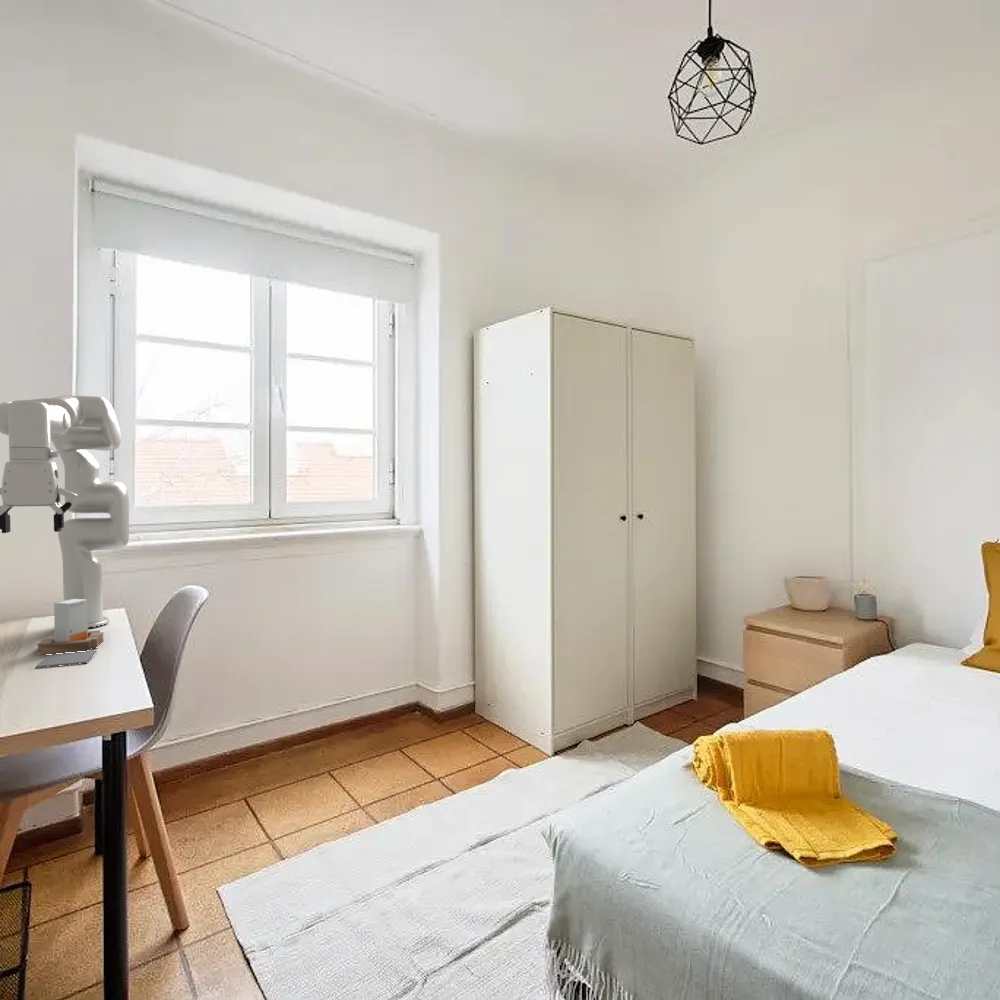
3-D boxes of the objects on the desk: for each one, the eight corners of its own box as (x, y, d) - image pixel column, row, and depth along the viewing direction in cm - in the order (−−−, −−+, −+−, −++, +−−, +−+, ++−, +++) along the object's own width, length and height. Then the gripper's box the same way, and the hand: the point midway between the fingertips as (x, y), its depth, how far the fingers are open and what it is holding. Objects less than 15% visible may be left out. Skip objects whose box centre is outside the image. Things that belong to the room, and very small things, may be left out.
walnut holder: (49, 643, 162) (49, 634, 162) (105, 639, 167) (105, 629, 167) (34, 656, 151) (34, 646, 150) (94, 651, 155) (94, 641, 155)
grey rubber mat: (48, 656, 150) (48, 654, 150) (96, 652, 154) (96, 650, 154) (35, 668, 141) (35, 666, 141) (87, 663, 145) (87, 661, 145)
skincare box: (68, 651, 155) (67, 603, 155) (54, 650, 156) (53, 603, 156) (89, 644, 161) (88, 599, 161) (75, 643, 162) (74, 598, 162)
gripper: (79, 457, 146) (81, 529, 147) (-11, 456, 140) (-9, 531, 140) (71, 456, 139) (73, 532, 140) (-25, 455, 133) (-22, 534, 133)
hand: (32, 531), depth 140 cm, fingers open, 9 cm apart
